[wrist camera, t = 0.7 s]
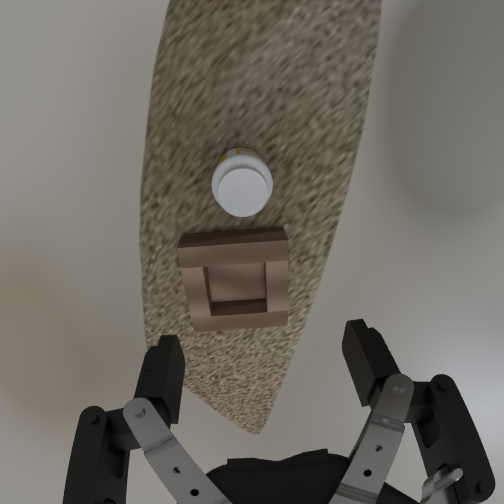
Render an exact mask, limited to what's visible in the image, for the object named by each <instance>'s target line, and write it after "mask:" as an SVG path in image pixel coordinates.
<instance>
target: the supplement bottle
mask: <svg viewBox="0 0 504 504" xmlns="http://www.w3.org/2000/svg"><path fill="white" fill-rule="evenodd" d="M272 190H273V179H272V175H271V173H270V170H269V169H268V167H267V166H266V164H265V163H264V161H263V159H262V158H261V157H260V156H259V155H258V154H257V153H256V152H254V151H253V150H251V149H247V148H235V149H232V150H229V151H228V152H226V153H225V154H224V155H223V156H222V157H221V158H220V160H219V161H218V164H217V166H216V169H215V171H214V174H213V177H212V192H213V195H214V197H215V199H216V201H217V202H218V203H219V204H220V205H221V206H222V207H223V209H224V210H225V211H227V212H228V213H230V214H231V215H234V216H238V217H247V216H251V215H254V214H256V213H257V212H259V211H260V210H261V209H262V208H263V207H264V205H265V204H266V203H267V201H268V200H269V198H270V196H271V193H272Z"/></svg>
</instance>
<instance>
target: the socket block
mask: <svg viewBox="0 0 504 504" xmlns="http://www.w3.org/2000/svg"><path fill="white" fill-rule="evenodd" d="M177 253H178V258H179V263H180V268H181V273H182V278H183V283H184V288H185V292H186V297H187V301H188V306H189V310H190V315H191V319H192V323H193V327H194V331H195V332H202V331H222V330H238V329H252V328H265V327H276V326H286V325H287V322H288V238H287V235H286V233H285V231H284V228H283V227H282V228H267V229H253V230H240V231H227V232H214V233H202V234H190V235H182V237H181V239H180V242H179V244H178V246H177Z"/></svg>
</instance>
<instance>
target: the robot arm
mask: <svg viewBox="0 0 504 504" xmlns="http://www.w3.org/2000/svg"><path fill="white" fill-rule="evenodd" d="M342 351H343V355H344V358H345V360H346V363H347V366H348V368H349V371H350V374H351V377H352V380H353V382H354V385H355V388H356V391H357V393H358V396H359V399H360V402H361V405H362V407H364V406H368V405H370V408H371V412H370V414H369V416H368V419H367V421H366V423H365V426H364V428H363V430H362V432H361V434H360V436H359V438H358V440H357V442H356V444H355V446H354V448H353V450H352V451H351V453H350V455H349V457H348V458H347V457H344V456H341V455H337V454H329V453H328V450H327V448H326V449H320V450H315V451H309V452H303V453H301V454H298V455H295V456H292V457H289V458H287V459H284V460H281V461H272V460H264V459H257V458H241V459H240V458H238V459H227V464H226V465H222V466H219V467H217V468H215V469H213V470H211V471H210V472H208V473H207V474H204V472H203V471H202V470H201V469H200V468H199V467H198V465H197V464H196V463H195V462H194V461H193V460H192V458H191V457H190V456H189V454H188V453H187V452H186V451H185V449H184V448H183V447H182V445H181V444H180V443H179V442H178V440H177V439H176V438H175V437H174V435H173V434H172V433H171V431H170V426H171V424H178V419H179V410H180V402H181V394H182V386H183V379H184V371H185V358H184V354H183V351H182V348H181V345H180V342H179V339H178V336H177V335H161V337H160V340H159V344H158V346H151V347H150V349H149V350H148V351H147V352H146V354H145V357H144V361H143V364H142V368H141V372H140V375H139V379H138V383H137V387H136V391H135V395H134V398H133V399H132V400H130V401H129V402H127V403H126V405H125V406H124V408H121V409H117V410H112V411H107V412H105V411H104V410H103V409H102V408H100V407H98V406H90V407H88V408H86V409H84V411H83V412H82V413H81V415H80V418H79V422H78V426H77V430H76V434H75V438H74V442H73V447H72V452H71V456H70V461H69V467H68V473H67V477H66V483H65V490H64V497H63V504H126V490H127V477H128V466H129V457H130V450H132V449H138V448H142V449H143V451H144V455H145V457H146V459H147V460H148V462H149V463H150V465H151V467H152V468H153V470H154V471H155V472H156V474H157V475H158V477H159V478H160V480H161V481H162V482H163V484H164V485H165V487H166V488H167V489H168V491H169V492H170V493H171V495H172V496H173V497H174V499H175V500H176V501H177V504H479V503H481V502H483V501H485V500H487V499H488V498H489V497H490V496H491V495H492V493H493V491H494V489H495V478H494V475H493V472H492V469H491V466H490V463H489V460H488V458H487V455H486V452H485V450H484V447H483V444H482V442H481V439H480V437H479V434H478V432H477V430H476V427H475V425H474V423H473V421H472V418H471V416H470V414H469V412H468V409H467V407H466V405H465V403H464V400H463V398H462V397H461V394H460V392H459V390H458V388H457V386H456V384H455V382H454V381H453V379H452V378H451V377H449V376H447V375H444V374H439V375H436V376H434V377H433V378H432V380H431V381H430V382H415V381H412V380H411V379H410V378H409V377H408V376H406V375H404V374H401V372H400V371H399V368H398V367H397V364H396V362H395V360H394V358H393V356H392V355H391V353H390V351H389V350H388V347H387V345H386V343H385V341H384V339H383V338H382V336H381V334H380V333H379V332H378V331H377V330H375V329H374V328H368V327H367V325H366V323H365V322H364V320H363V319H357V320H350V321H347V323H346V327H345V332H344V337H343V341H342ZM404 423H411V425H412V428H413V430H414V433H415V437H416V440H417V443H418V446H419V449H420V452H421V456H422V459H423V462H424V466H425V469H426V473H427V476H428V478H427V479H426V481H425V482H424V484H423V486H422V499H421V501H420V503H418V502H417V501H416V500H414V499H412V498H411V497H409V496H407V495H405V494H404V493H402V492H400V491H399V490H397V489H396V488H394V487H392V486H391V485H389V484H387V483H386V482H385V479H386V477H387V475H388V472H389V470H390V468H391V465H392V463H393V460H394V458H395V455H396V453H397V450H398V448H399V445H400V442H401V439H402V436H403V434H404V430H405V426H404Z"/></svg>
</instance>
